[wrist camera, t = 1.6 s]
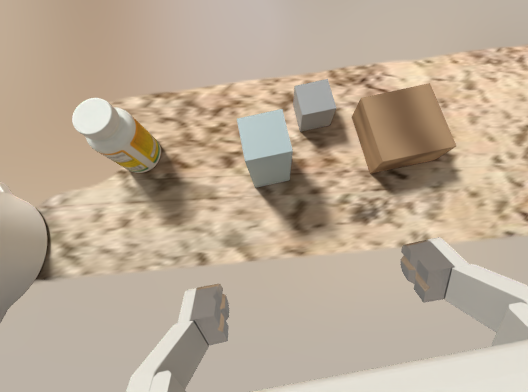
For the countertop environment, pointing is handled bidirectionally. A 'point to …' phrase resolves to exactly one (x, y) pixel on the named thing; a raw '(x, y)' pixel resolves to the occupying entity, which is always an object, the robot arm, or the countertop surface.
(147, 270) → the countertop surface
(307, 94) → the block
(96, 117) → the supplement bottle
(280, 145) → the pillar
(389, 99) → the plinth
